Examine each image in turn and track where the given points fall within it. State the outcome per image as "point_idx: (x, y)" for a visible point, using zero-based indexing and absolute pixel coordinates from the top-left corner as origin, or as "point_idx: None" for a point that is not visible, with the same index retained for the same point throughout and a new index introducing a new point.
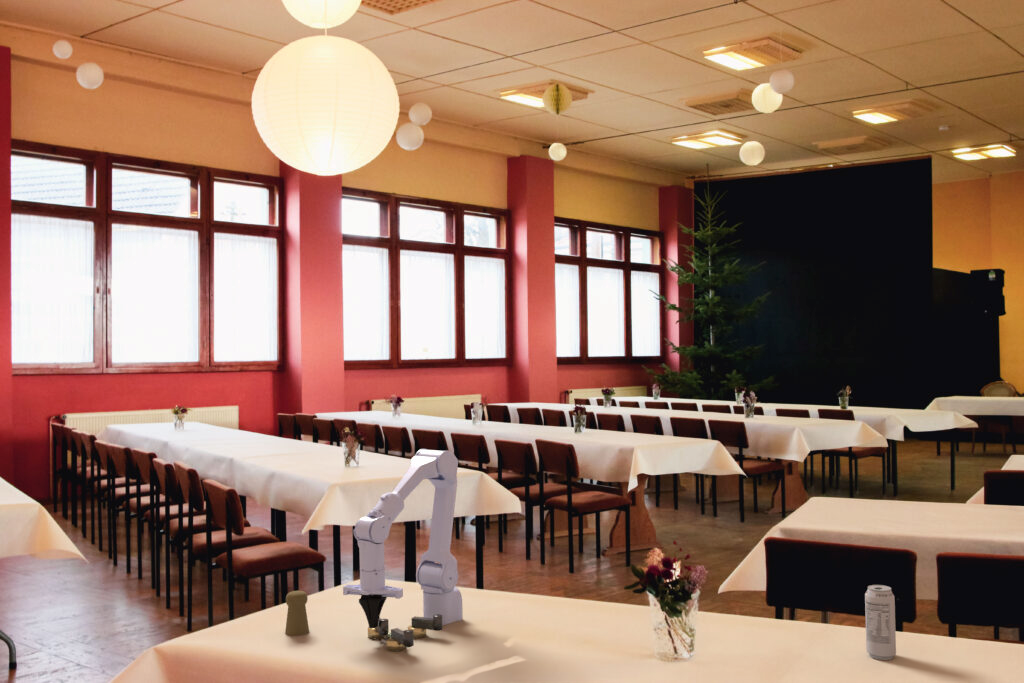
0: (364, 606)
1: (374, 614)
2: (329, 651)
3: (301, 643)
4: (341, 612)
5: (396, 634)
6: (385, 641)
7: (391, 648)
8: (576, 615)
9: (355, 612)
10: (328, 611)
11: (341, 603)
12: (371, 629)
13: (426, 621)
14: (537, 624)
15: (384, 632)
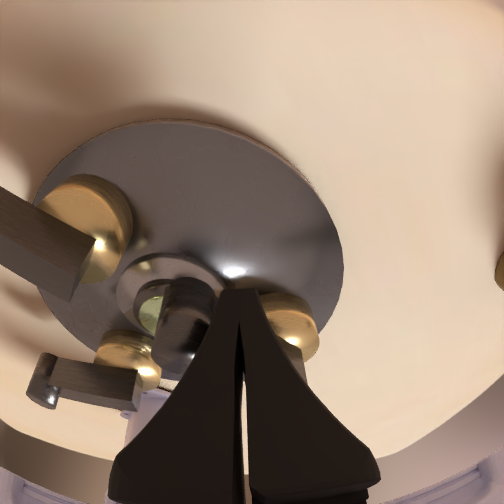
0: (297, 424)
1: (190, 366)
2: (424, 144)
3: None
4: (427, 395)
5: (24, 234)
6: (178, 264)
7: (75, 179)
8: (33, 423)
9: (400, 405)
10: (449, 387)
11: (427, 412)
12: (290, 326)
13: (72, 384)
14: (32, 406)
15: (169, 291)
